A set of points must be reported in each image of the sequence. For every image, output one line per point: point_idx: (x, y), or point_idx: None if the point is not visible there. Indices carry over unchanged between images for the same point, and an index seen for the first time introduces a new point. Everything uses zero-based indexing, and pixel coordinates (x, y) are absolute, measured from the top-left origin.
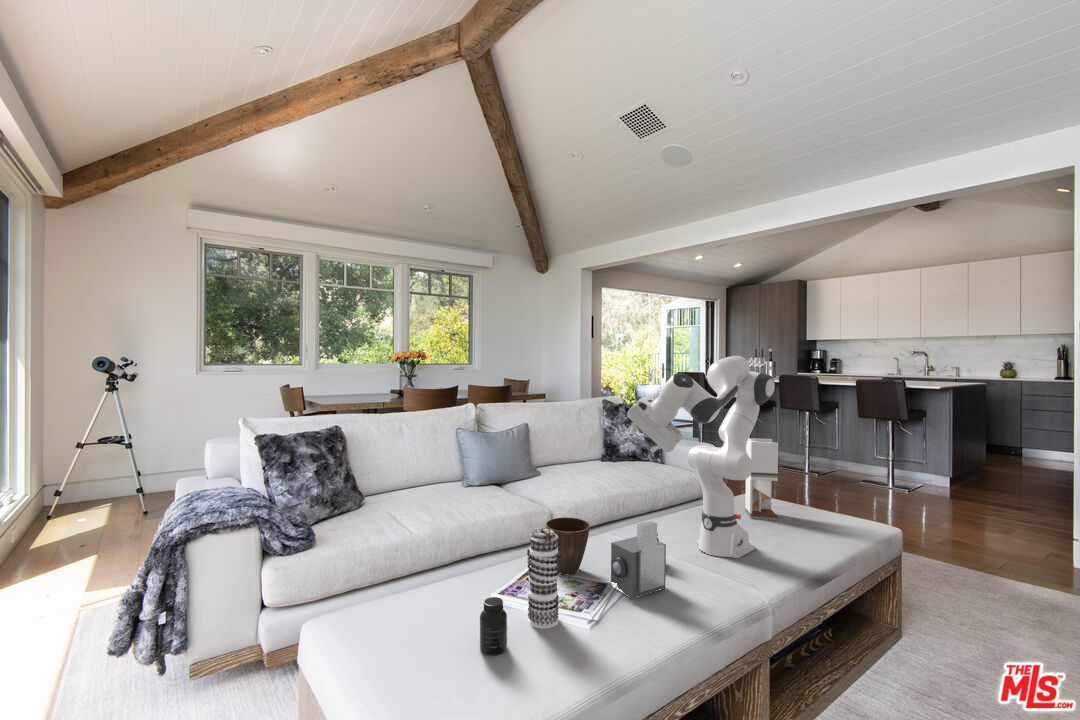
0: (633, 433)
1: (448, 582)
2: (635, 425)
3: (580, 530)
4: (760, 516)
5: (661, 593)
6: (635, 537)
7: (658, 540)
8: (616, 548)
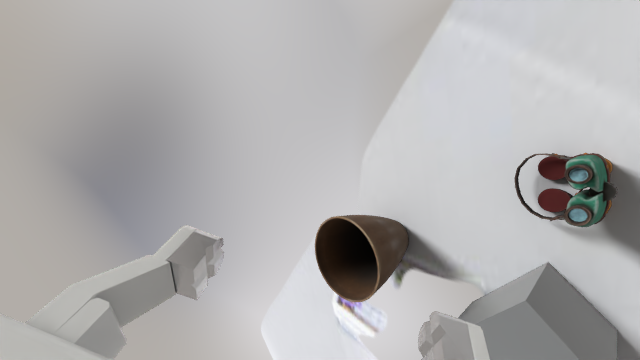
0: (209, 274)
1: (296, 271)
2: (119, 348)
3: (371, 225)
4: None
5: None
6: (497, 317)
7: (596, 186)
8: None
